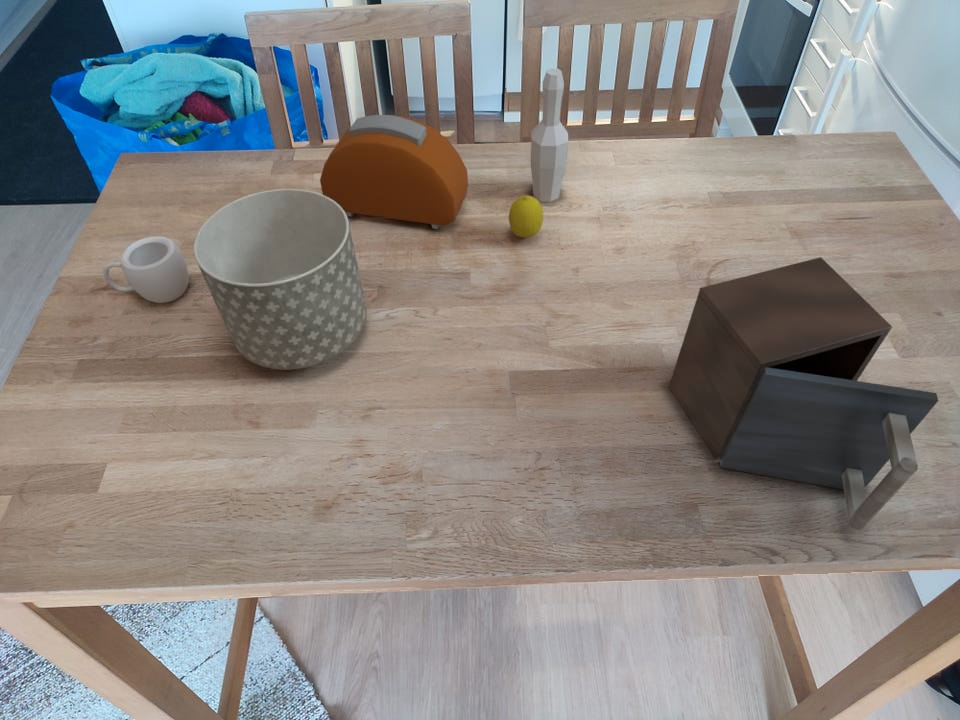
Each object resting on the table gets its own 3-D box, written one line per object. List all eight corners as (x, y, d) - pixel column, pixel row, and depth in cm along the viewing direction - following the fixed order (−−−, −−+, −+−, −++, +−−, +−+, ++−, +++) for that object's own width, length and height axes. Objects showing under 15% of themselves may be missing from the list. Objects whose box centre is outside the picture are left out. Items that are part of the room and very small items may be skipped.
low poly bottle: (523, 187, 118) (527, 65, 101) (556, 181, 119) (566, 59, 102) (534, 207, 114) (541, 84, 97) (569, 201, 115) (581, 78, 98)
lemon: (514, 224, 111) (515, 183, 105) (545, 230, 110) (548, 189, 104) (504, 243, 108) (504, 203, 102) (536, 250, 106) (539, 210, 100)
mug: (199, 270, 105) (181, 230, 99) (191, 307, 99) (171, 267, 93) (122, 277, 104) (99, 238, 98) (109, 315, 99) (84, 276, 93)
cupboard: (827, 425, 83) (892, 326, 70) (716, 459, 80) (761, 364, 67) (772, 357, 91) (821, 256, 77) (668, 386, 88) (700, 287, 74)
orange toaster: (470, 203, 115) (466, 114, 102) (456, 235, 109) (451, 144, 97) (345, 186, 119) (327, 98, 107) (325, 215, 114) (304, 126, 101)
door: (870, 546, 72) (955, 459, 59) (720, 518, 75) (769, 428, 62) (860, 485, 77) (936, 392, 64) (720, 460, 80) (765, 366, 67)
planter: (221, 384, 89) (172, 285, 76) (254, 288, 102) (216, 188, 88) (361, 383, 89) (336, 284, 75) (376, 287, 101) (358, 187, 88)
